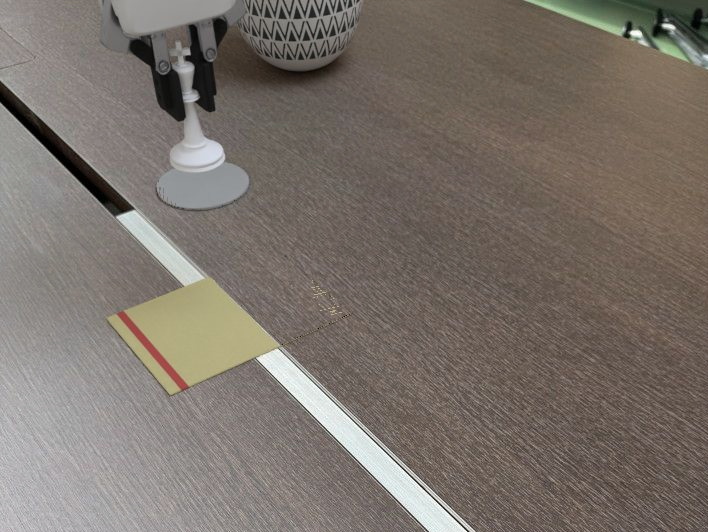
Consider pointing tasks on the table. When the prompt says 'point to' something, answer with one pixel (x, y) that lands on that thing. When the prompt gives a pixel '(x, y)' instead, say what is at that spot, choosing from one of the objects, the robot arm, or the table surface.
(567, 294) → the table surface
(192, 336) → the paper
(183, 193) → the coaster
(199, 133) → the chess piece
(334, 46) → the planter
